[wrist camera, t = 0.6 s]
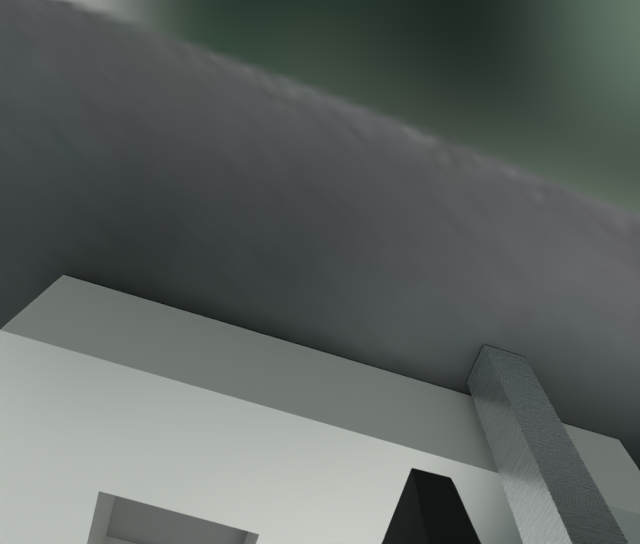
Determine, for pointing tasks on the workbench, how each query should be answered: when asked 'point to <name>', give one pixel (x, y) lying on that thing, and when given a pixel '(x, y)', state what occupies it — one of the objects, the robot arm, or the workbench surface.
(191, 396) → the socket block
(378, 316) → the workbench surface
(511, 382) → the teal topped shelf
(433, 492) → the robot arm
